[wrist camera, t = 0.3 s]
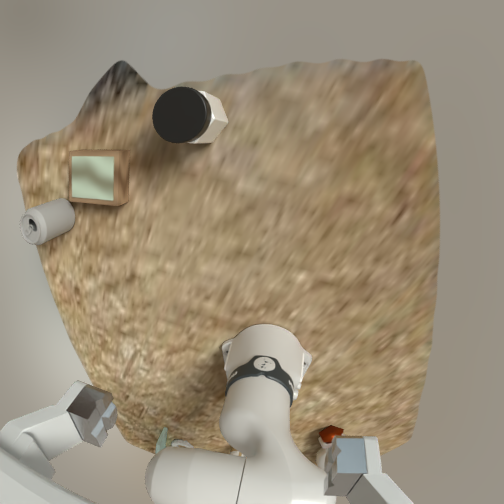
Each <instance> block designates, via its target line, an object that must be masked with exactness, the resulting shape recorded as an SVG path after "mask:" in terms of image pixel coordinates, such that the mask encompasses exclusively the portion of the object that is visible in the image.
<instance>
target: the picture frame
mask: <svg viewBox="0 0 504 504" xmlns="http://www.w3.org/2000/svg"><path fill="white" fill-rule="evenodd" d="M129 160H130V150H75V151H69V199H70V201H71V202H81V203H92V204H102V205H112V206H120V205H122V204H124V203H127V202H129Z"/></svg>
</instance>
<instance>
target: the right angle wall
mask: <svg viewBox="0 0 504 504" xmlns="http://www.w3.org/2000/svg"><path fill="white" fill-rule="evenodd" d="M167 429H168V428H166V427H164V429H163V431H162V433H161V435H160V437H159V439H158V441H157V443H156V454H157V453H158V452H159V451H161V450H162V449H164V448H166V438H167ZM171 445H172V447H179V446H178V445H182V446H185V447H189V448H194V447H193V446H192V445H191V444H190V443H189V442H187V441H183V440H182V439H181V440H178V439H177V440H174V441H172V443H171Z"/></svg>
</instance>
